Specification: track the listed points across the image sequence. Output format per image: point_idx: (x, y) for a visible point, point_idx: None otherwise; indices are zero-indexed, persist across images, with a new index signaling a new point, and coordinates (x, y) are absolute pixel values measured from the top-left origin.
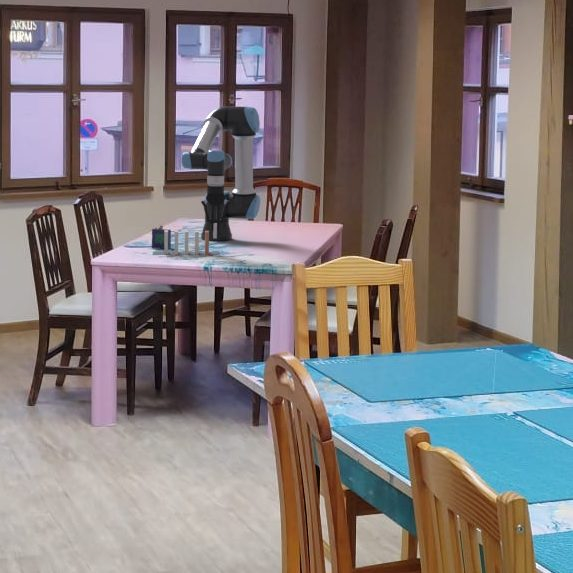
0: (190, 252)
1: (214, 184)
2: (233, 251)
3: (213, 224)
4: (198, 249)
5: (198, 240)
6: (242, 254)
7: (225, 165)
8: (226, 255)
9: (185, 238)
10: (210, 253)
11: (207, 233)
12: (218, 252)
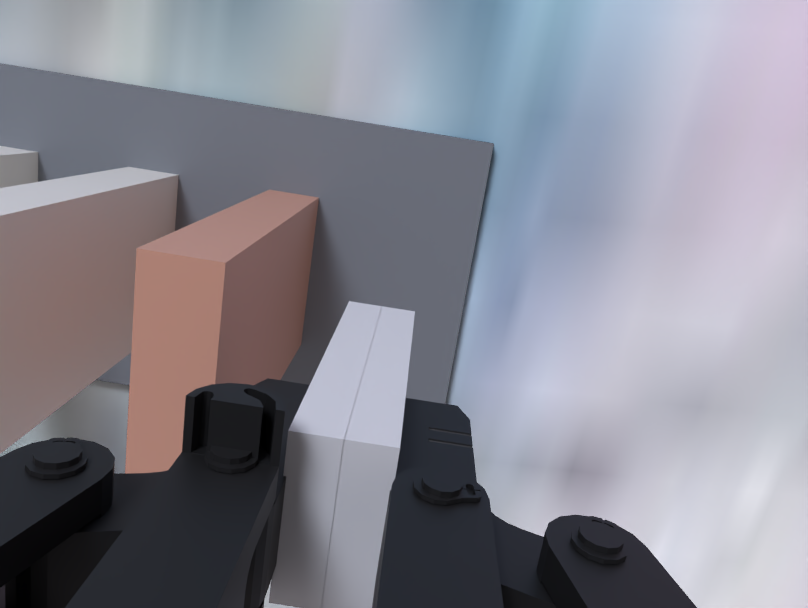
0: (71, 139)
1: None
2: (742, 20)
3: (277, 548)
4: None
5: (70, 395)
6: (771, 325)
7: None
8: (529, 383)
9: None
10: (339, 259)
11: None
12: (469, 180)
